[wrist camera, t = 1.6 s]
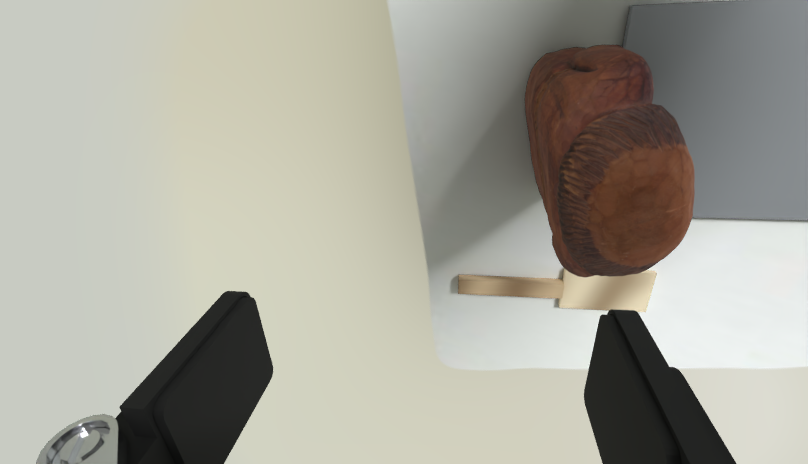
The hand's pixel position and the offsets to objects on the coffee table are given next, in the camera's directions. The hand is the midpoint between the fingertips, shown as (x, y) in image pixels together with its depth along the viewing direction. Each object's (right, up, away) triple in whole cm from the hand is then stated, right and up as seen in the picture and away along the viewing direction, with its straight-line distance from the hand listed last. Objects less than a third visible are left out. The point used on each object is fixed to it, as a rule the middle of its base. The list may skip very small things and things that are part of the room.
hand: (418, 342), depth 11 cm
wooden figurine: (+12, +12, +22) cm, 28 cm away
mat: (+25, +12, +20) cm, 34 cm away
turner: (+14, -2, +29) cm, 32 cm away
